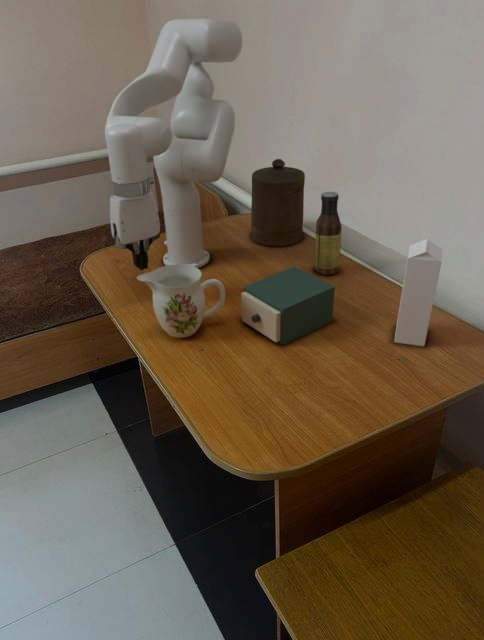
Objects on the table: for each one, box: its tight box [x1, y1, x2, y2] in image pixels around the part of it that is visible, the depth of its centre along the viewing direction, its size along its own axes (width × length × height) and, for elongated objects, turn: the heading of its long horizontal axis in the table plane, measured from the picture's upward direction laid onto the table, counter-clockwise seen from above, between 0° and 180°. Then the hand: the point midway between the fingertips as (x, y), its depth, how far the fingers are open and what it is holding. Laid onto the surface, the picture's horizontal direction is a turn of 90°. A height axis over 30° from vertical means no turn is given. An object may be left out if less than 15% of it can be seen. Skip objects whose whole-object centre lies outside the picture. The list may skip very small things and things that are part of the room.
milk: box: [393, 231, 443, 347], centre depth 105 cm, size 6×6×22 cm
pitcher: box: [136, 264, 226, 339], centre depth 113 cm, size 11×18×14 cm, turn 103°
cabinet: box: [243, 266, 336, 346], centre depth 116 cm, size 15×13×9 cm
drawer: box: [240, 291, 281, 343], centre depth 115 cm, size 15×11×7 cm
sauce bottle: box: [314, 191, 342, 276], centre depth 132 cm, size 6×6×20 cm
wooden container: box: [250, 158, 306, 247], centre depth 151 cm, size 15×15×22 cm
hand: (141, 267), depth 123 cm, fingers closed
